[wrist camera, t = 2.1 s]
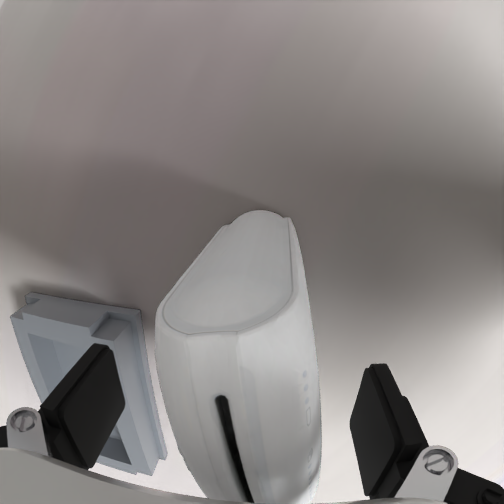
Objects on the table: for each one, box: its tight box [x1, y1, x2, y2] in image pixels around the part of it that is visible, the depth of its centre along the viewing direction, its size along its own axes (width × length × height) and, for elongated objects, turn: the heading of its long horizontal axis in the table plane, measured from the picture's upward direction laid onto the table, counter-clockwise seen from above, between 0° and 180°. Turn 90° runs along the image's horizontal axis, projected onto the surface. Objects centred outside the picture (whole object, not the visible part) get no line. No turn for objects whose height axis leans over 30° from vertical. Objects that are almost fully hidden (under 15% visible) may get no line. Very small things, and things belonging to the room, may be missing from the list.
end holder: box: [10, 292, 168, 476], centre depth 20 cm, size 10×15×3 cm, turn 178°
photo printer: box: [155, 210, 322, 504], centre depth 12 cm, size 10×4×12 cm, turn 8°
